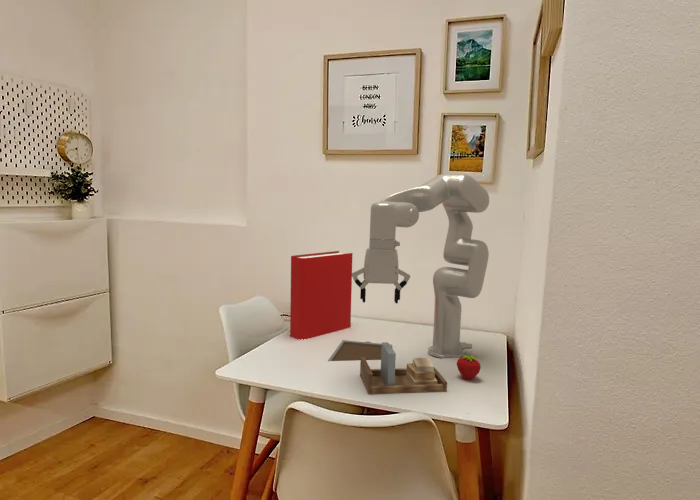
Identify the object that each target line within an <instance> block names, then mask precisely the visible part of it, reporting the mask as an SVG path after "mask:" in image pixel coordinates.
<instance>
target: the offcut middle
mask: <svg viewBox="0 0 700 500" xmlns="http://www.w3.org/2000/svg"><path fill="white" fill-rule="evenodd" d="M406 368H407V369H406V371H407V372H408V373H409V374H410V375H411V376H412V377H413V379H414V380H415V381H418V380H434V379H435V372H434V373H416V371H415V368H414V366H413V362H411V363H406Z"/></svg>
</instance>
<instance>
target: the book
mask: <svg viewBox="0 0 700 500" xmlns="http://www.w3.org/2000/svg"><path fill="white" fill-rule="evenodd" d="M352 273H353V252H348V253H342V252H340V250H335V251H326V252H316V253H306V254H304V253H303V254H297V255H291V256H290V309H289V310H290V311H289V312H290V313H289V315H290V316H289V317H290V318H289V319H290V320H289V321H290V323H289V324H290V325H289V328H290V329H289V330H290V332H289V337H290V338H293V337H294V338H293V339H295V340H298V339H300V340H299V341H304V339H306V340H308V338H309V339H312V338H316V337H320V336H323V335H327V334H328V335H329V334H331V333H334V332H335V333H336V332H339V331H343V330H346V329H350V328H351V326H352V325H351V323H352V322H351V321H352V319H351V318H352V288H353V287H352V283H353V282H352V281H353V277H352ZM301 339H303V340H301Z"/></svg>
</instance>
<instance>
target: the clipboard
mask: <svg viewBox="0 0 700 500" xmlns="http://www.w3.org/2000/svg"><path fill="white" fill-rule="evenodd" d="M389 344H390V343H389ZM381 346H382V343H378V342H371V341H355V340H348V339H347V340H346V339H345V340H344V339H343V340H342V341H341V342H340V344H339V345H337V347H336V349H335V350H334V351H333V352H332V353H331V356H330V357H329V358H328V360H327V362H345V361H346V362H352V361H354V362H355V361H361V357H365V359H366V361H381ZM390 346H391V347H392V348H393V344H390Z"/></svg>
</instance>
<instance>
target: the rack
mask: <svg viewBox="0 0 700 500" xmlns="http://www.w3.org/2000/svg"><path fill="white" fill-rule="evenodd" d="M359 366H360V367H359V368H360V370H359V376H360V378H361V381H362V383H363V386H364V388H365V390H366V393H367V395H386V394H387V395H388V394H390V395H391V394H414V393H415V394H416V393H419V394H420V393H441V392H442V393H443V392H446V393H447V391H448V381H447V379H446V378H444V377H443V375H442V374H441V373H440V372H439V371H438V369H437V368H436V367H435V366H434V372H435V378H436V380H437V381H438V383H437V384H423V385H411V384H410V382H409V381H408V379H407V378H406V369H407V367H405V368H404V367H403V368H401V367H400V368H395V385H393V386H385V385H384V383H383V381H382V379H381V377H380V374H381V368H374V369H373V368H372V369H371V367H370V365H369V362H368V360H366V359H365V357H361V360H360V365H359Z"/></svg>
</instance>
